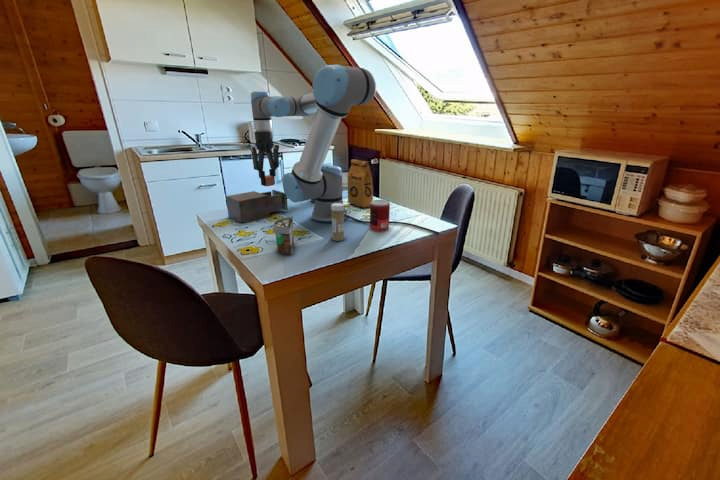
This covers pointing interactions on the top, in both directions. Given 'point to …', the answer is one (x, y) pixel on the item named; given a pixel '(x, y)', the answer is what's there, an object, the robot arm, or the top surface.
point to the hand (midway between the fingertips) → (268, 184)
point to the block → (269, 180)
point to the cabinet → (247, 206)
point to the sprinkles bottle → (337, 221)
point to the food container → (284, 235)
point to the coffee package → (360, 184)
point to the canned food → (379, 215)
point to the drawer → (276, 200)
